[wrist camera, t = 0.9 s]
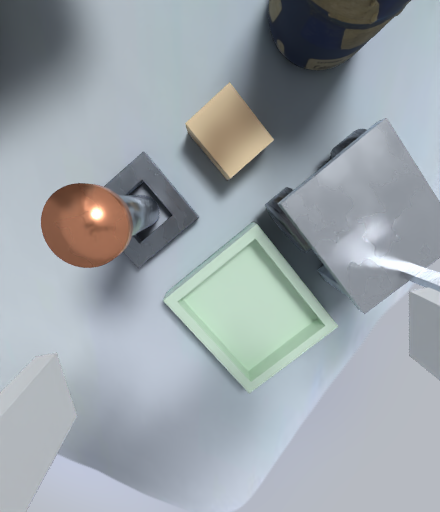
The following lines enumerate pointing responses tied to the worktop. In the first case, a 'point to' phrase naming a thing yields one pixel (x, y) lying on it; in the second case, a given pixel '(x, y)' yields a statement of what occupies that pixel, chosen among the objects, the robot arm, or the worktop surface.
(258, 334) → the tray
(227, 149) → the block
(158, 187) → the collar
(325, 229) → the trolley
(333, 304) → the worktop surface
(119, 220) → the pin
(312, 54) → the canister
